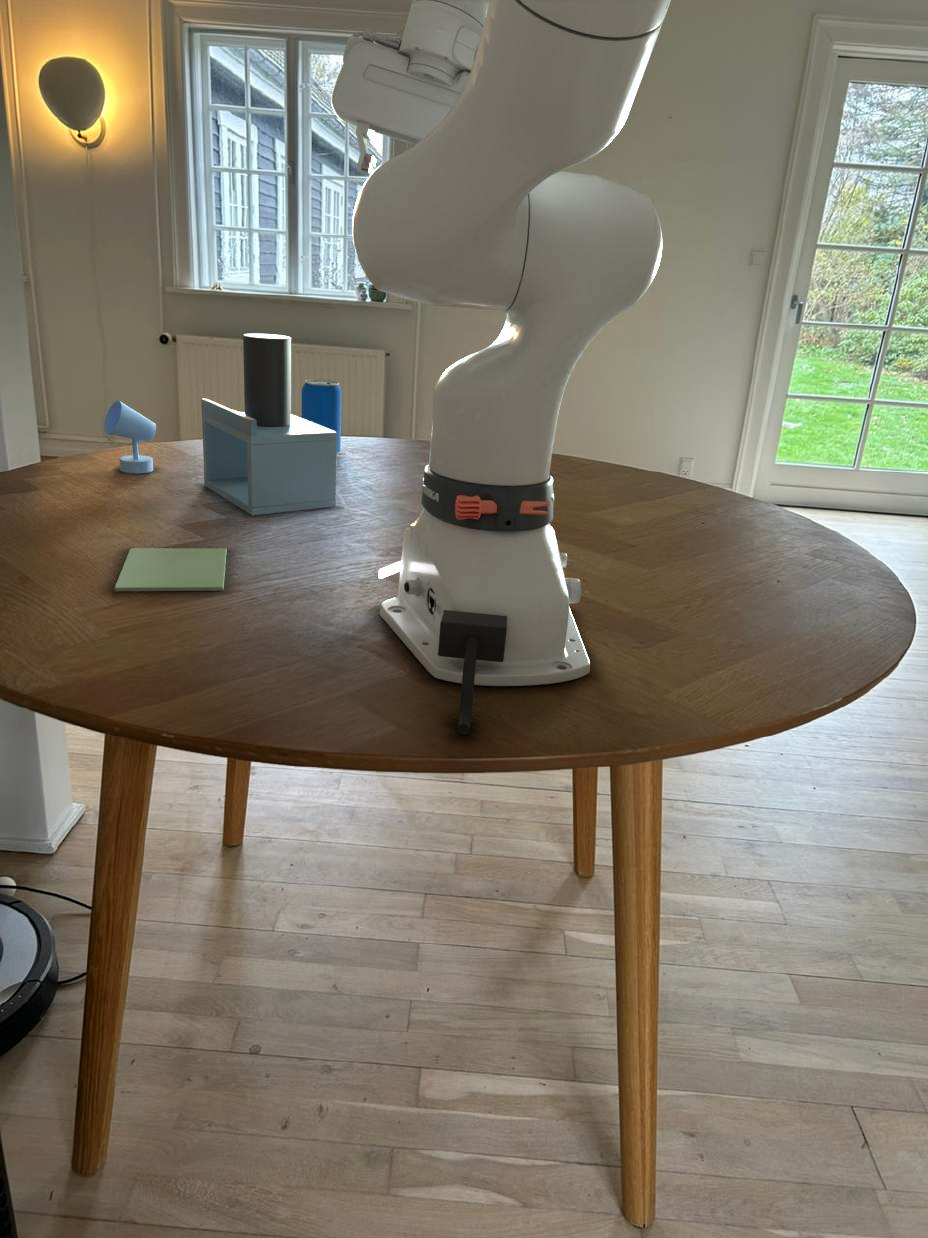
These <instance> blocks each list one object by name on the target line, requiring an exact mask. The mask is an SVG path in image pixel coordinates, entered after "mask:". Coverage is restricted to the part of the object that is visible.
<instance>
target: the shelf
mask: <svg viewBox="0 0 928 1238" xmlns="http://www.w3.org/2000/svg"><path fill="white" fill-rule="evenodd" d="M200 403H201V404H200V405H201V427H202V428H201V429H202V452H203V481H204V482H203V483H204V486H205V488H208V489H209V490H211V491H213V492H214V493H216V494H217V495H219V496H220V497H221V498H223V499H225V500H227V501H228V502H229V503H232V504H233V505H235V506H236V507H238V508H239V509H241V510H243V511H244V512H246V513H247V514H249V515H250V516H253V517H254V516H261V515H271V514H281V513H289V512H297V511H309V510H316V509H325V508H334V507H336V506H337V464H338V463H337V461H338V459H337V457H338V455H337V432H335V431H333V430H330V429H328V428H325V427H322V426H320V425H317V424H315V423H312V422H310V421H307V420H305V419H302V418H301V417H299V416H297V415H295V414H292V413H291V424H290V425H287V426H281V427H264V426H257V423H256V420H255V419H253V418H251V417H248V416H246V415H245V411H237V410H234V409H232V408H230V407H227V406H226V405H223V404H220V403H218V402H216V401H213V400H211V399H209V398H206V397H205V398H204V397H203V398H200Z"/></svg>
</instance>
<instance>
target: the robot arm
mask: <svg viewBox="0 0 928 1238" xmlns="http://www.w3.org/2000/svg"><path fill="white" fill-rule="evenodd" d="M671 2H672V0H412V1H411V6H410V9H409V12H408V15H407V19H406V23H405V27H404V30H403V34H402V37H401V39H400V38H397V37H393V36H392V35H391V36H390V35H386V34H381V33H377V32H376V31H374V30H371V29H367V28H366V29H365V28H364V29H363V30H362V31H357V32H355V33H353V34H352V35H350V36H349V37H348V39H347V41H346V44H345V48H344V52H343V57H342V63H343V64H342V66H341V68H340V71H339V73H338V75H337V79H336V80H335V83H334V86H333V90H332V92H331V97H330V104H331V107H332V109H333V112H334V113H335V115H336V117H337V118H338V119H339V120H340V121H341V122H343V123H345V124H349V125H351V126H354V127H356V129H355V134H356V139H357V144H358V150H359V156H358V161H357V163H356V169H357V171H358V172H359V173H361V174H364V175H368V178H367V179H366V181H365V182H364V183H363V186H362V187H361V189H360V191H359V194H358V196H357V199H356V201H355V206H354V209H353V215H352V242H353V247H354V251H355V253H356V257H357V261H358V263H359V265H360V267H361V269H362V272H363V273H364V274H365V276H366V278H367V279H368V280H369V282H370V283H371V285H372V286H373V287H374V288H375V289H376V290H377V291H379V292H382V293H385V294H388V295H392V296H395V297H398V298H401V299H404V300H408V301H412V302H416V303H419V304H424V305H427V306H431V307H432V306H433V307H445V308H447V307H448V308H459V309H473V310H486V311H487V310H488V311H499V312H504V313H506V319H505V322H504V326H503V328H502V330H501V332H500V334H499V336H498V337H497V338H496V339H495V340H494V341H493V343H492V344H491V345H489V346H487V347H486V348H482V349H481V350H479V351H476V352H473V353H471V354H469V355H467V356H465V357H463V358H461V359H459V360H457V361H456V362H454V363H453V364H451V365H450V366H449V367H448V368H446V369H445V371H444V372H442V375H440V377H439V378H438V380H437V382H436V384H435V387H434V390H433V392H432V393H433V396H432V411H431V425H430V426H431V427H430V430H431V431H430V443H429V457H428V458H429V459H428V464H427V465H425V467H424V468H423V477H422V479H421V487H420V488H421V505H422V507H423V509H422V511H421V513H420V514H419V515H418V516H417V518H416V519H415V520H414V521H413V522H412V523H411V524H410V525H408V527H407V528H406V529H404V532H403V538H402V547H401V548H402V549H401V558H400V560H399V561H396V562H394V563H392V564H389V565H386V566H384V567H381V568H380V569H378V579H379V580H380V579H381V580H382V579H384V578H386V577H387V578H388V577H389V576H391V575H395V574H397V573H399V579H398V580H399V581H398V589H397V596H396V597H393V598H390V599H386V600H385V601H382V602H381V604H380V609H379V615H380V617H381V618H382V619H383V620H384V622H385V623H386V625H388V626H389V627H390V629H391V630H392V631H393V632H394V634H396V636H397V637H398V638H399V640H401V641H402V643H403V644H404V645H405V646H406V647H407V649H409V651H410V652H411V653H412V654H413V656H414V657H415V658H416V659H417V660H418V661H419V663H420V664H421V665H422V666H423V668H424V669H426V671H427V672H428V673H429V674H430V675H431V676H432V677H434V678H435V679H438V680H442V681H445V682H446V681H447V682H451V683H456V684H461V687H460V699H459V710H458V720H457V727H456V730H457V733H459V734H460V735H462V736H463V735H464V736H465V735H468V734H469V733H470V732H471V724H472V713H473V701H474V690H475V686H482V687H483V686H485V687H523V686H524V687H525V686H541V685H550V684H557V683H558V684H559V683H565V682H568V681H569V682H570V681H573V680H577V679H580V678H582V677H584V676H587V675H588V674H590V671H591V661H590V658H589V656H588V653H587V650H586V648H585V644H584V643H583V640H582V638H581V635H580V631H579V629H578V626H577V624H576V621H575V618H574V616H573V614H572V611H571V608H570V604H573V605H576V604H579V602H580V601H581V596H582V582H581V579H579V578H577V577H565V572H564V568H567V564H568V555H567V553H566V552H560V550H559V545H558V541H557V538H556V530H555V529H554V528H553V526H551V523H552V522H553V520H554V504H555V492H554V478H553V477H552V476H551V474H550V473H551V472H550V471H551V464H552V457H553V449H554V443H555V437H556V430H557V424H558V419H559V415H560V410H561V405H562V401H563V396H564V394H565V390H566V387H567V386H568V385H567V384H568V383H569V379H570V378H571V375H572V374H573V371H574V369H575V367H576V365H577V364H578V362H579V360H580V359H581V357H582V356H583V353H584V352H585V351H586V349H588V347H589V346H590V344H591V343H592V342H593V340H595V338H596V337H597V336H598V335H599V334H600V332H602V331H603V330H604V329H605V327H606V326H608V325H609V324H610V323H611V322H612V321H614V320H615V319H616V318H618V317H619V316H620V315H622V314H624V312H627V311H628V310H629V309H632V307H634V305H635V304H637V303H638V302H639V301H640V299H642V297H643V296H644V295H645V294H646V292H647V290H648V289H649V287H650V286H651V285H652V283H653V281H654V278H655V276H656V274H657V271H658V269H659V266H660V262H661V258H662V251H663V233H662V225H661V221H660V218H659V215H658V211H657V209H656V208H655V207H656V206H655V205H654V204H653V203H654V202H652V200H651V198H650V197H649V195H648V194H647V193H645V192H643V191H641V190H638V189H636V188H634V187H631V186H629V185H626V184H623V183H621V182H618V181H615V180H612V179H609V178H606V177H603V176H600V175H597V174H593V173H582V172H575V171H574V172H573V171H564V170H567V169H570V168H573V167H575V166H577V165H579V164H581V163H583V162H586V161H587V160H590V159H592V158H593V157H594V156H596V155H598V154H599V153H600V152H601V151H603V150H604V149H606V147H608V146H609V144H610V143H611V142H612V141H613V139H615V137H616V136H617V135H618V134H619V133H620V131H621V130H622V128H623V127H624V125H625V123H626V121H627V119H628V117H629V115H630V112H631V109H632V107H633V104H634V101H635V98H636V95H637V93H638V90H639V87H640V85H641V83H642V80H643V77H644V75H645V71H646V69H647V66H648V64H649V61H650V58H651V56H652V53H653V50H654V47H655V44H656V42H657V40H658V37H659V34H660V31H661V29H662V26H663V24H664V21H665V18H666V15H667V13H668V9H669V7H670V4H671ZM375 133H377V134H379V135H382V136H386V137H388V138H392V139H395V140H398V141H401V142H405V143H408V144H410V145H412V147H410V148H409V149H408V150H405V151H404V152H402V153H400V154H399V155H397V156H394V157H393V158H391V159H388V160H387V161H384V162H382V163H381V164H380V165H379V166H377V168H375V167H376V163H377V159H376V157H375V156H374V155H373V154H370V151H369V145H368V142H372V141H373V139H374V135H375ZM374 168H375V169H374Z"/></svg>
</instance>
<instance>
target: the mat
mask: <svg viewBox="0 0 928 1238" xmlns="http://www.w3.org/2000/svg"><path fill="white" fill-rule="evenodd" d="M226 561H227V548H225V547H223V548H220V547H216V548H215V547H214V548H213V547H212V548H210V547H209V548H208V547H199V548H198V547H196V548H195V547H194V548H193V547H130V549H129V551H128V553H127V555H126V559H125V561H124V562H123V566H122V568H121V571H120V573H119V575H118V578H117V580H116V583H115V586H114V592H212V591H213V592H217V591H218V592H219V591H220V592H221V591H224V588H225V587H224V586H225V585H224V584H225V574H226Z"/></svg>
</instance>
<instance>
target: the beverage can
mask: <svg viewBox="0 0 928 1238" xmlns="http://www.w3.org/2000/svg"><path fill="white" fill-rule="evenodd" d="M342 391H343V390H342V388H341V387H340V382H339V381H337V380H331V379H323V378H314V379H313V378H308V379H305V380H304V383H303V385H302V387H301V413H300V415H301V417H300V418H302V419H305V420H307V421H310V422H312V423H315V424H317V425H320V426H322V427H325V428H328V429H330V430H333V431H335V432H337V454H339V453H340V452H341V441H342V439H341V438H342V437H341V436H342V435H341V434H342V396H343V395H342V393H343V392H342Z"/></svg>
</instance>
